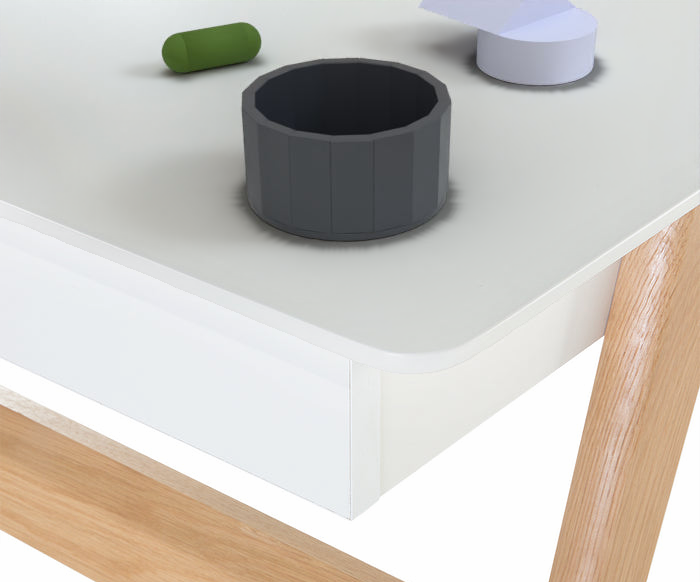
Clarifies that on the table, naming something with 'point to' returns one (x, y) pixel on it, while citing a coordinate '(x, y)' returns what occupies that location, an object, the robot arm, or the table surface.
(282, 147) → the pot
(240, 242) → the table surface
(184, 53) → the pickle
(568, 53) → the wedge on round base
